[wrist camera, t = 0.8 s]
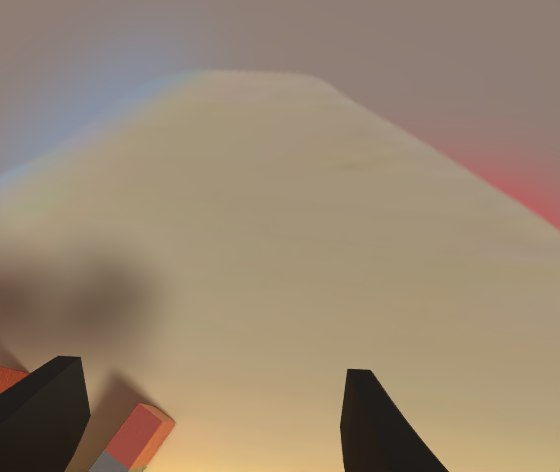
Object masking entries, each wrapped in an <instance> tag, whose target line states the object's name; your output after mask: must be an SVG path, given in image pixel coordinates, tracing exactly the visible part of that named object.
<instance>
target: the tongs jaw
mask: <svg viewBox="0 0 560 472" xmlns="http://www.w3.org/2000/svg"><path fill="white" fill-rule="evenodd" d="M175 424H176V422H174V421H173V420H172V419H170V418H169V417H168V416H166V415H165V414H164V413H163V412H161V411H160V410H159V409H157V408H156V407H154V406H150V405H146V404H142V403H138V405H137V406H136V407H135V409H134V410H133V411H132V413H131V414H130V416H129V417H128V418H127V420H126V421H125V422H124V424H123V425H122V426H121V428H120V429H119V430H118V432H117V433H116V434H115V436H114V437H113V438H112V440H111V441H110V443H109V444H108V445H107V447H106V448H105V449H104V451H103V452H102V453H101V455H100V456H99V457H98V459H97V460H96V461H95V463H94V464H93V465H92V467H91V468H90V469H89V471H88V472H143V471H144V469H145V468H146V466H147V465H148V464H149V462H150V461H151V459H152V458H153V456H154V455H155V453H156V452H157V450H158V449H159V447H160V446H161V445H162V443H163V442H164V440H165V439H166V437H167V436H168V434H169V433H170V431H171V430H172V429H173V427H174V426H175Z"/></svg>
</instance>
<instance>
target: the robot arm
mask: <svg viewBox="0 0 560 472" xmlns="http://www.w3.org/2000/svg"><path fill="white" fill-rule="evenodd" d="M90 416H91V414H90V408H89V402H88V397H87V391H86V385H85V379H84V373H83V367H82V362H81V357H71V356H57V357H56V358H54V359H52V360H51V361H49V362H47V363H46V364H44V365H43V366H41V367H40V368H38V369H36V370H35V371H33V372H32V373H30V374H29V375H27V376H26V377H24V378H23V379H21V380H20V381H18V382H17V383H15V384H14V385H12V386H11V387H9V388H8V389H6V390H5V391H3V392H2V393H0V472H64V471H65V469H66V467H67V466H68V464H69V462H70V460H71V459H72V457H73V455H74V453H75V451H76V449H77V446H78V444H79V442H80V440H81V437H82V435H83V433H84V430H85V428H86V426H87V423H88V421H89V418H90ZM340 432H341V442H342V452H343V462H344V469H345V472H449V471H448V470H447V469H446V468H445V467H444V466H443V464H442V463H441V462H440V461H439V460H438V459H437V457H436V456H435V455H434V454H433V453H432V452H431V450H430V449H429V448H428V447H427V446H426V444H425V443H424V442H423V441H422V439H421V438H420V437H419V436H418V434H417V433H416V432H415V430H414V429H413V428H412V427H411V425H410V424H409V423H408V422H407V420H406V419H405V418H404V416H403V415H402V414H401V412H400V411H399V410H398V408H397V407H396V405H395V404H394V403H393V401H392V400H391V398H390V397H389V396H388V394H387V393H386V391H385V390H384V388H383V387H382V385H381V384H380V383H379V381H378V380H377V378H376V377H375V375H374V374H373V373H372V371H371V370H362V369H347V377H346V384H345V392H344V400H343V407H342V415H341V423H340Z"/></svg>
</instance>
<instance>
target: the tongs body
mask: <svg viewBox="0 0 560 472" xmlns="http://www.w3.org/2000/svg"><path fill="white" fill-rule="evenodd" d="M27 375H29V374H28V373H24V372H20V371H16V370H12V369H8V368H4V367H0V393H2V392H3V391H5V390H6V389H8V388H9V387H11V386H12V385H14V384H15V383H17V382H18V381H20V380H21V379H23V378H24V377H26V376H27Z"/></svg>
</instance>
